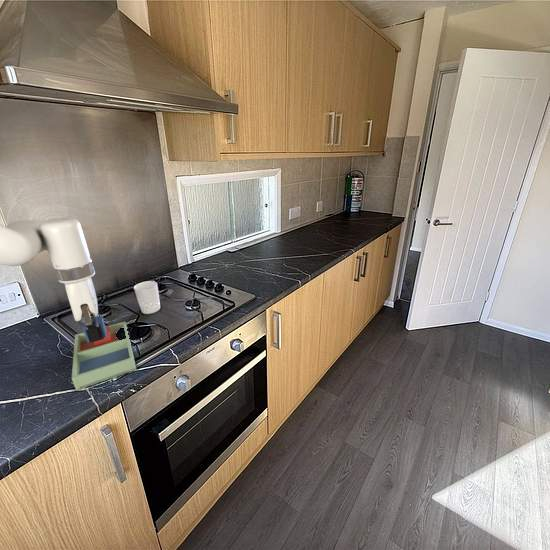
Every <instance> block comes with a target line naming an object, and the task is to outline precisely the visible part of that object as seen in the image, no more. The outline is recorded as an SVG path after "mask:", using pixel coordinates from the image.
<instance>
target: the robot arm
mask: <svg viewBox="0 0 550 550" xmlns="http://www.w3.org/2000/svg"><path fill="white" fill-rule="evenodd" d="M86 241H87V240H86V238H85V234H84V231H83V228H82V224H81V223H80V221H79V220H78V219H76V218H74V217H59V218H53V219H48V220H17V221H14V222H11V223H9V224H8V225H5V226H4V225H2V224H0V265H2V266H8V267H19V266H24V265H27V264H29V263H31V262H32V261H33V260H34V259H35V258H36V257H37V256H38V255H39V254H40V253H42V252H44V251H47V253H48V255H49V258H50V262H51V264H52V266H53V269H54V272H55V274H56V277H57V280H58V283H60V284H64V287H65V292H66V295H67V299H68V302H69V306H70V309H71V312H72V315H73V318H74V321H75V322H80V321H81V320H82V323H83V322H84V325H85V328H86V329H85V330H86V333H87V336H88V339H89V341H90V343H92V342H95V341H99V340H102V339H104V336H103V332H102V329H101V326H100V325H99V324H98V321H97V318H96V317H98V316H99V304H98V298H97V293H96V290H95V286H94V282H93V280H92V278H93V277H94V276H95V275H96V271H95V267H94V264H93V260H92V258H91V255H90V251H89V248H88V244H87V242H86ZM93 318H94V321H95V322H94V321H92V319H93Z"/></svg>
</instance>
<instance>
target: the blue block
mask: <svg viewBox="0 0 550 550" xmlns="http://www.w3.org/2000/svg"><path fill="white" fill-rule="evenodd" d="M96 318H97V321H98V324H99V325H100V326H101V329H102V332H103V336H104V338H106V337H107V332H106V323H105V321H104V317H103V315H98V317H97V316H96ZM92 321H94V318H93V319H92ZM94 322H95V321H94ZM85 329H86V328H85V325H84V322H83V321H82V331H83V333H84V334H85V337H86V339H87V342H88V343H89V342H90V341H89V339H88V336H87V333H86V330H85Z"/></svg>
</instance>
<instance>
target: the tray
mask: <svg viewBox="0 0 550 550" xmlns="http://www.w3.org/2000/svg"><path fill="white" fill-rule="evenodd" d="M108 326H109V329H110V333H111V336H112V341H113V342H111V343H108V344H105V345H101V346H98V347H95V345H94V342H92V343H90V342H89V343H88V342H87V339H86V337H85V334H84V332H80V333H76V334H75V335H74V345H73V354H72V355H73V357H72V370H71V381H72V384H73V386H74V388H75V391H79V390H82V389H85V388H88V387H91V386H93V385H97V384H98V383H99V384H100V383H102V382H105V381H107V380H111V379H113V378H117V377H119V376H123V375H126V374H128V373H131V372H134V371H137V364H136V361H135V356H134V351H133V347H132V343H131V338H130V334H129V335H128V333H129V330H128V331H127V329H128V326H127V322H126V321H122V322H118V323H114V324H110V325H107V326H106V325H105V327H108ZM122 327H124V331H125V336H126V338H125V339H122V340H118V339H117V338H116V334H117V333H116V332H117V331H118V330H119V329H120V328H122ZM129 338H130V339H129Z"/></svg>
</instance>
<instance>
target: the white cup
mask: <svg viewBox="0 0 550 550" xmlns="http://www.w3.org/2000/svg"><path fill="white" fill-rule="evenodd" d="M133 290H134V294H135V297H136V300H137V303H138V306H139V309H140V311H141V313H142V314H144V315H150V314H154V313H156V312H158V311H160V309H161V301H160V292H159V287H158V283H157V281H154V280H147V281H142V282H139V283H137V284H135V285H134V286H133Z"/></svg>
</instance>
